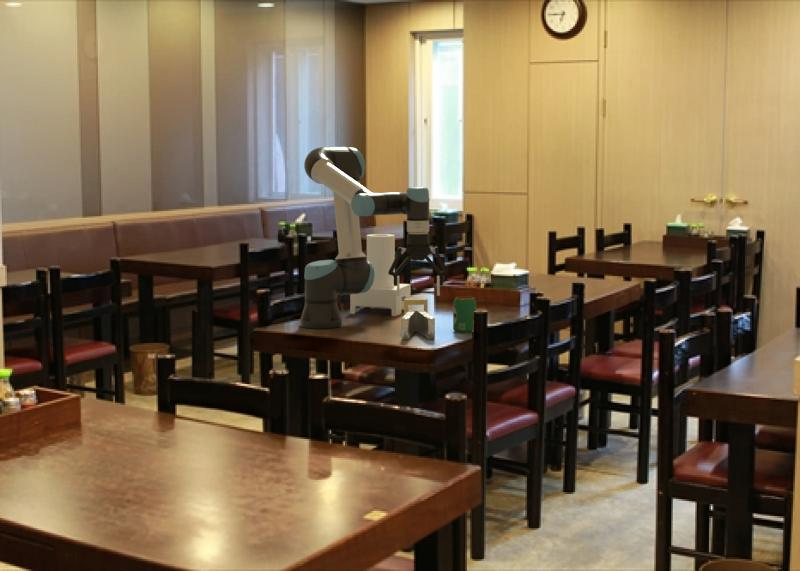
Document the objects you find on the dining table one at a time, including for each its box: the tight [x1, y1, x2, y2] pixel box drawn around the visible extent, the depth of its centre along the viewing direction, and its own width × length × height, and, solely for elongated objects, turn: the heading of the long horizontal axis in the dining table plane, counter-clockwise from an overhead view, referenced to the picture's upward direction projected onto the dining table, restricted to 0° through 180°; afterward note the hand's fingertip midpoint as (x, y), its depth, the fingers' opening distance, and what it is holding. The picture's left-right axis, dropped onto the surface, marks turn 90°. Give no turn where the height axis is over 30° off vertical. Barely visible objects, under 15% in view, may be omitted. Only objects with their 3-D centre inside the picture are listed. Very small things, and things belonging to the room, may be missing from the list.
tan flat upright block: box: [403, 298, 429, 316], centre depth 407 cm, size 2×8×11 cm, turn 92°
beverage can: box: [452, 296, 477, 334], centre depth 402 cm, size 8×8×12 cm
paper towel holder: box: [349, 233, 412, 317], centre depth 448 cm, size 19×19×30 cm
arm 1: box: [401, 310, 416, 340], centre depth 394 cm, size 18×2×7 cm, turn 172°
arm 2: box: [416, 310, 436, 340], centre depth 394 cm, size 18×2×7 cm, turn 12°
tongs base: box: [408, 309, 424, 331], centre depth 407 cm, size 3×5×7 cm, turn 92°
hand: (418, 295), depth 389 cm, fingers open, 13 cm apart
